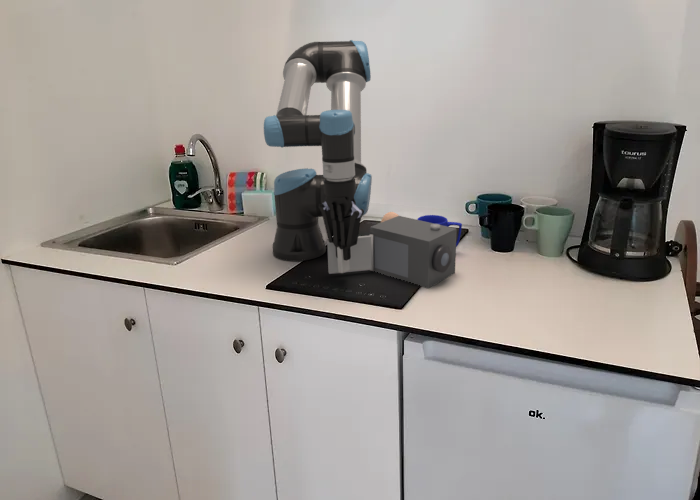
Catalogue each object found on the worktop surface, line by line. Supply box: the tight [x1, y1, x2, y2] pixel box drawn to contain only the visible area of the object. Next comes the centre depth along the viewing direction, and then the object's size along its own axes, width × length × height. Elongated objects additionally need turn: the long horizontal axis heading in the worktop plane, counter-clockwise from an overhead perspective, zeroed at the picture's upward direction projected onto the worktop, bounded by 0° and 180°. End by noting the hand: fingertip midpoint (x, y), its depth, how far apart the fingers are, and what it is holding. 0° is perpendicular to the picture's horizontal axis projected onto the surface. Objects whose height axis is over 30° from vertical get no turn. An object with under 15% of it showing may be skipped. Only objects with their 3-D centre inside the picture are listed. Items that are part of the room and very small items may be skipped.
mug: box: [416, 214, 463, 248], centre depth 158 cm, size 8×12×10 cm
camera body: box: [369, 215, 458, 289], centre depth 145 cm, size 20×12×13 cm, turn 48°
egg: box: [380, 211, 400, 223], centre depth 172 cm, size 7×7×8 cm
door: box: [326, 233, 374, 275], centre depth 146 cm, size 12×2×10 cm, turn 100°
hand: (344, 271), depth 142 cm, fingers closed
